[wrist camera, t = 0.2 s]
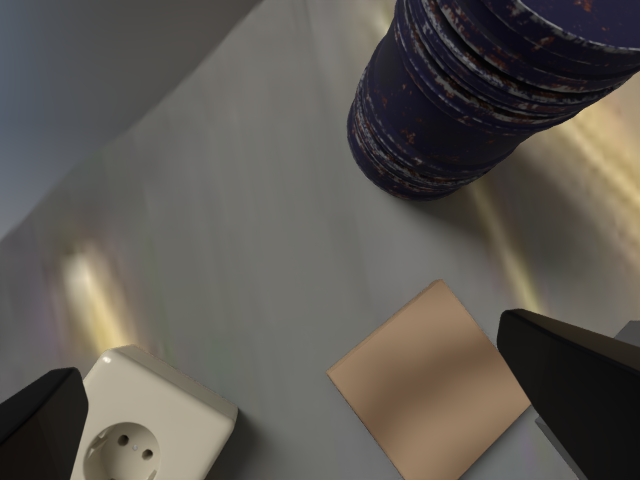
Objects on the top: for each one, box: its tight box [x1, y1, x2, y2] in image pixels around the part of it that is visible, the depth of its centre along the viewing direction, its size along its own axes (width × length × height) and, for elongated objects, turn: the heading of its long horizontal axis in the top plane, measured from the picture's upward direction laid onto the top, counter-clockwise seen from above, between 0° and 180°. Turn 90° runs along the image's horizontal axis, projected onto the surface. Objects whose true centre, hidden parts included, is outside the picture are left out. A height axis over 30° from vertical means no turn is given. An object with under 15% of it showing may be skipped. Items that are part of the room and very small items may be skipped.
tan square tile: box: [325, 279, 531, 480], centre depth 23 cm, size 9×9×1 cm
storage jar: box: [347, 0, 640, 201], centre depth 19 cm, size 10×10×15 cm
